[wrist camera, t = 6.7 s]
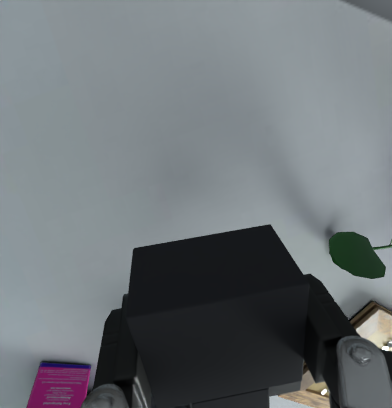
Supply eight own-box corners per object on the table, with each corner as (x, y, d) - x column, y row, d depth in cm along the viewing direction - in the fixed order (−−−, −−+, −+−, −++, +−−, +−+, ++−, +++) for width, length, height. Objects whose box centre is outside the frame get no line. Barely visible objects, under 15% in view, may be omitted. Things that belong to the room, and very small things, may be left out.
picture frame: (466, 352, 45) (371, 299, 37) (477, 363, 43) (381, 311, 35) (373, 417, 51) (274, 385, 42) (381, 429, 49) (278, 398, 41)
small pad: (167, 370, 16) (170, 449, 12) (133, 247, 12) (124, 318, 9) (271, 349, 16) (299, 422, 13) (270, 223, 12) (310, 283, 9)
